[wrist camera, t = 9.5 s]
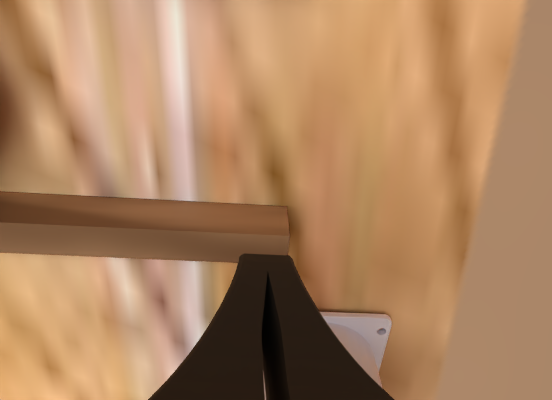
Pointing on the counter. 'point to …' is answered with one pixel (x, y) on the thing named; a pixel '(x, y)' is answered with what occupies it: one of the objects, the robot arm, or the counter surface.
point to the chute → (139, 228)
